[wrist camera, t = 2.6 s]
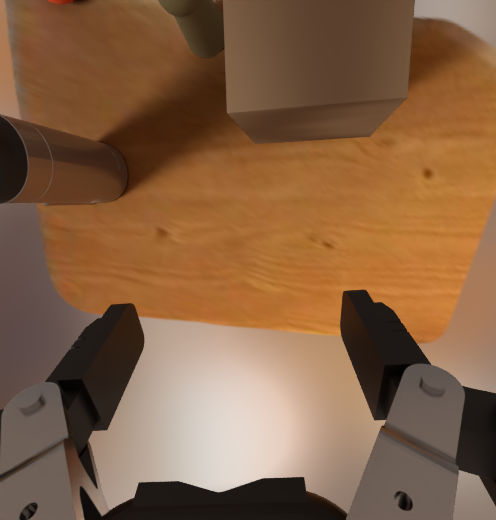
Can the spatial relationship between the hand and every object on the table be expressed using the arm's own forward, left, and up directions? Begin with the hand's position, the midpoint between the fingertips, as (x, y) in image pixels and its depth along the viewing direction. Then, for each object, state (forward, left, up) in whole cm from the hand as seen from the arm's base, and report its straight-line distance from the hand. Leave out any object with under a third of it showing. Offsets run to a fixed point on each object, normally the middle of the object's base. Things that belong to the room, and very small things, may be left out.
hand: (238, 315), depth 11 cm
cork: (+4, +29, -33) cm, 44 cm away
